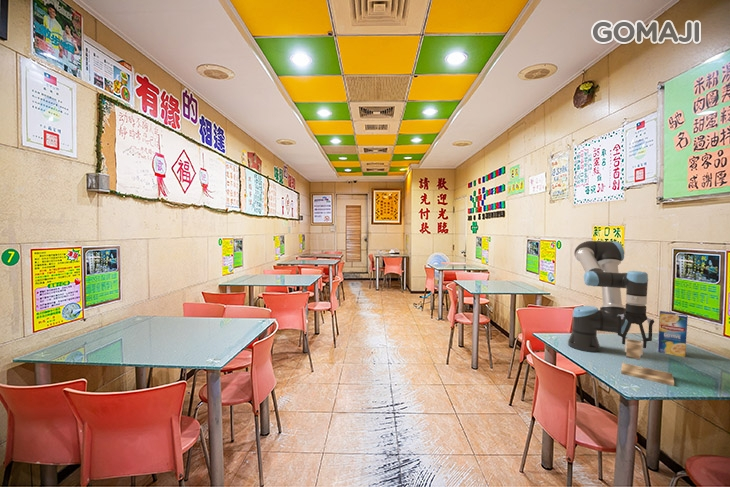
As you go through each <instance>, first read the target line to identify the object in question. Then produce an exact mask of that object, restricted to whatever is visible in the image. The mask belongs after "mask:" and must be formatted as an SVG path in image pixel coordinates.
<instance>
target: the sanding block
mask: <svg viewBox="0 0 730 487" xmlns="http://www.w3.org/2000/svg"><path fill="white" fill-rule="evenodd" d="M625 356H626V358H628V359H632V360H636V361H641V356H642V355H641V340H637V339H632V338H631V339H630V338H628V339H627V352H626V354H625Z"/></svg>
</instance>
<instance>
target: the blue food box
mask: <svg viewBox="0 0 730 487" xmlns="http://www.w3.org/2000/svg"><path fill="white" fill-rule="evenodd" d="M658 318H659V320H658V321H659V322H658V339H657V352H658V353H662V354H667V355H671V356H672V355H673V356H677V357H682V358H683V357H684V358H686V349H687V332H688V331H687V330H688V314H686V313H680V312H679V313H678V312H671V311H664V310H659V317H658Z"/></svg>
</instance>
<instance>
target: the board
mask: <svg viewBox="0 0 730 487" xmlns="http://www.w3.org/2000/svg"><path fill="white" fill-rule="evenodd" d="M620 370H621V371H620V373H621V375H626V376H630V377H634V378H637V379H638V378H639V379H643V380H647V381H651V382H656V383H660V384H664V385H667V386H672V387H674V386H675V379H674V376H673V373H671V372H666V371H662V370H657V369H654V368H648V367H644V366H639V365H634V364H630V363H627V362H626V363H625V362H622V363H621V369H620Z"/></svg>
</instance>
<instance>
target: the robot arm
mask: <svg viewBox="0 0 730 487" xmlns="http://www.w3.org/2000/svg"><path fill="white" fill-rule="evenodd" d="M574 257H575V259H576V260H577V261H578V262H580V264H581V267H582V268H583V270H584V276H583V279H584V280H583V281H584V285H586V286H588V287H600V288H601V294H602V295H601V297H602V305H601V306H600V309H599V308H598V307H596V306H592V305H591V306H590V305H582V306H581V305H579V306H576V307H574V308H573V310H572V311H573V312H572V327H571V328H572V329H571V333H570V336H569V338H568V340H567V341H568V342H567V344H568V345H567V346H569V347H570V348H573V349H575V350H579V351H583V352H591V353H597V352H599V351H600V349H601V346H600V343H599V339H598V337H597V336H598V335H597V333H598V332H604V333H605V332H606V333H613V334H614V333H615V334H617V336H618V337H621V340H622V341H621V344H622V345H624V353H627V340H628V339H629V338H628V336H627V335H628V332H629V331H630V329H631V327H632V324H633V325H634V324H635V325H638V327H639V330H640V334H641V338H642V339H641V340H640V341H641V356H643V355H644V354H643V353H644V349H647V342H653V326H654V323H655V320H654V319H653V318H650V317H648V316H647V306H646V305H647V304H648V301H647V300H648V285H649V283H648V282H649V275H648V272H646V271H638V270H629V271H627V272H619V265H620V264H621V263H622V261H624V260H625V249H624V247H623V245H622V243H621V242H619V241H613V240H609V241H607V240H606V241H604V240H586V241H584V242H583V241H582V242H580V243H579V244H578V245H577V246H576V248H575V249H574ZM621 289H626V291H625V292H626V293H625V302H626V303H625V307H624V305H623V302H622V292H621ZM645 321H646V322H647V323H648V332H647V333H648V337H647V335H646V332H645V328H644V324H643V323H645Z"/></svg>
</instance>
